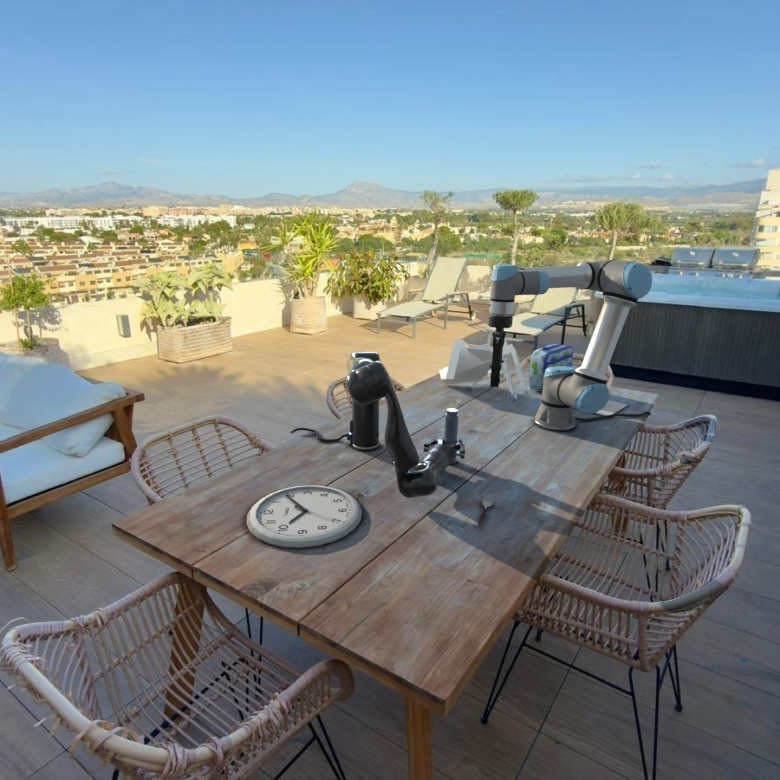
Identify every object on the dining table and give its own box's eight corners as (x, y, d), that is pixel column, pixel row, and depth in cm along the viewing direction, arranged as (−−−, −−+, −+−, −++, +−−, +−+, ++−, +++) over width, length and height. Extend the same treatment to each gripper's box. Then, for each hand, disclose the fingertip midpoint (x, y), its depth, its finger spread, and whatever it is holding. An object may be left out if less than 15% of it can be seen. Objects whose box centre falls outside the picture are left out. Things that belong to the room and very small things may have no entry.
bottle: (449, 465, 168) (452, 413, 163) (440, 461, 171) (442, 409, 166) (458, 461, 171) (461, 410, 165) (449, 457, 174) (451, 407, 168)
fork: (473, 526, 133) (473, 519, 133) (484, 497, 148) (485, 491, 147) (483, 528, 133) (484, 521, 132) (493, 499, 147) (494, 493, 146)
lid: (492, 373, 176) (492, 368, 175) (506, 376, 173) (506, 371, 172) (484, 376, 172) (485, 371, 171) (499, 379, 169) (499, 374, 168)
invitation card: (608, 416, 214) (573, 407, 224) (608, 416, 214) (573, 408, 224) (628, 404, 229) (594, 396, 238) (628, 405, 229) (594, 397, 238)
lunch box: (545, 396, 239) (550, 351, 232) (524, 391, 246) (528, 347, 240) (572, 385, 256) (577, 343, 250) (552, 380, 263) (557, 339, 257)
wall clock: (364, 539, 124) (235, 543, 122) (364, 545, 125) (236, 550, 122) (360, 481, 153) (256, 483, 150) (360, 486, 153) (256, 488, 151)
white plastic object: (461, 429, 252) (437, 405, 227) (444, 352, 274) (420, 323, 250) (535, 404, 240) (518, 377, 215) (510, 326, 262) (492, 293, 237)
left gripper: (460, 452, 153) (474, 432, 168) (414, 444, 158) (432, 425, 173) (458, 476, 155) (473, 454, 170) (413, 467, 160) (431, 446, 175)
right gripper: (491, 309, 176) (486, 376, 183) (486, 318, 159) (480, 390, 166) (514, 311, 174) (508, 378, 181) (511, 319, 157) (504, 393, 164)
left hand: (452, 440), depth 171 cm, fingers closed on bottle, 4 cm apart
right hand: (495, 384), depth 173 cm, fingers closed on lid, 5 cm apart
